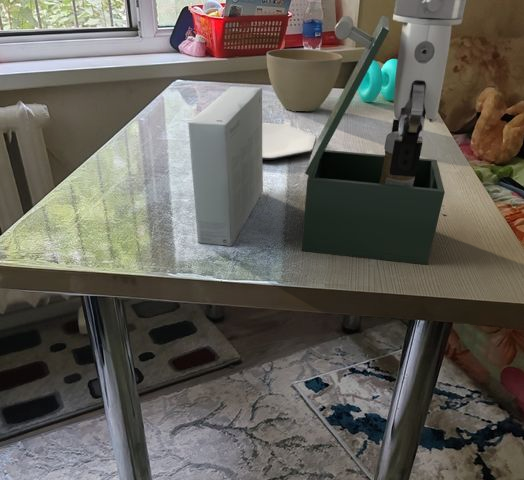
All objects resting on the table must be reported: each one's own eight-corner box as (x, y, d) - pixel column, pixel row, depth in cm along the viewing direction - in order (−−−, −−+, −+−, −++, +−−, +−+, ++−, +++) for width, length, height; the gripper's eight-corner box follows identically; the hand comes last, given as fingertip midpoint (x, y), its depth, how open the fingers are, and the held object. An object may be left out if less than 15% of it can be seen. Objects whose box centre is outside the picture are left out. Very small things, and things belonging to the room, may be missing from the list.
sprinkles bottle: (374, 225, 79) (390, 128, 71) (406, 231, 77) (426, 133, 69) (367, 238, 75) (383, 137, 67) (400, 244, 74) (421, 142, 66)
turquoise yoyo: (352, 97, 149) (357, 56, 143) (383, 96, 152) (389, 55, 146) (370, 106, 142) (376, 63, 136) (403, 104, 145) (410, 62, 139)
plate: (268, 124, 124) (268, 117, 123) (338, 152, 109) (339, 144, 108) (176, 138, 113) (176, 131, 112) (240, 172, 98) (240, 163, 97)
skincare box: (231, 189, 91) (231, 84, 81) (263, 192, 90) (266, 87, 80) (192, 243, 74) (186, 119, 65) (231, 247, 73) (231, 123, 64)
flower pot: (349, 114, 134) (356, 59, 126) (282, 119, 128) (285, 61, 121) (316, 98, 147) (320, 47, 140) (254, 102, 141) (255, 49, 134)
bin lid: (388, 18, 67) (351, -4, 66) (389, 30, 57) (345, 4, 56) (319, 147, 77) (287, 129, 77) (310, 176, 67) (272, 156, 67)
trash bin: (422, 226, 81) (436, 159, 75) (427, 264, 71) (444, 191, 65) (311, 214, 83) (317, 149, 77) (301, 251, 73) (307, 178, 67)
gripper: (474, 15, 53) (436, 188, 63) (456, 1, 67) (426, 145, 77) (396, 11, 54) (370, 183, 64) (393, -2, 67) (373, 141, 78)
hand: (401, 162), depth 70 cm, fingers open, 9 cm apart
